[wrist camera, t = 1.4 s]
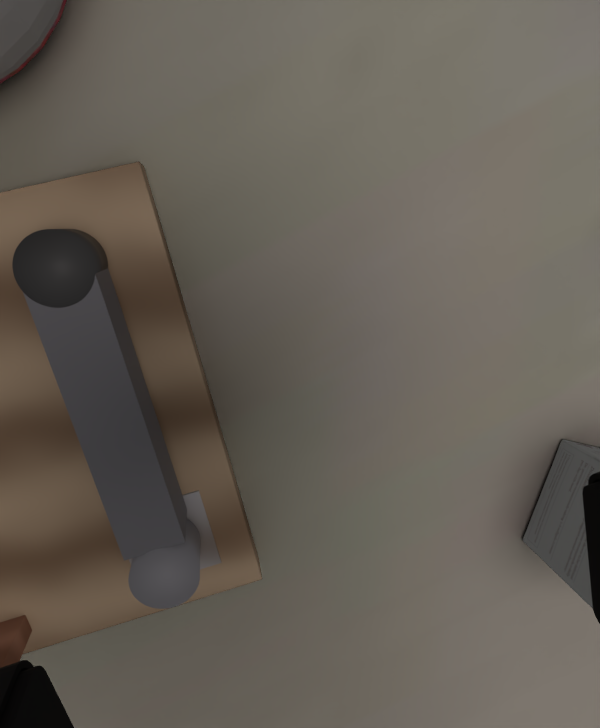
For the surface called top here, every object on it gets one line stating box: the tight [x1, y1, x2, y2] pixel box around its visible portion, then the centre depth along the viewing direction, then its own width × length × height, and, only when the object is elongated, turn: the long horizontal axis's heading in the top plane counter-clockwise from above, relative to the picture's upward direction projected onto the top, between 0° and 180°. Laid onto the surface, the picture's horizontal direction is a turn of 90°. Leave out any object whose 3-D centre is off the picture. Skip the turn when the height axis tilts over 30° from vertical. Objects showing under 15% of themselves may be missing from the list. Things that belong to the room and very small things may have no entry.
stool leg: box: [12, 229, 200, 609], centre depth 24 cm, size 18×3×3 cm, turn 13°
